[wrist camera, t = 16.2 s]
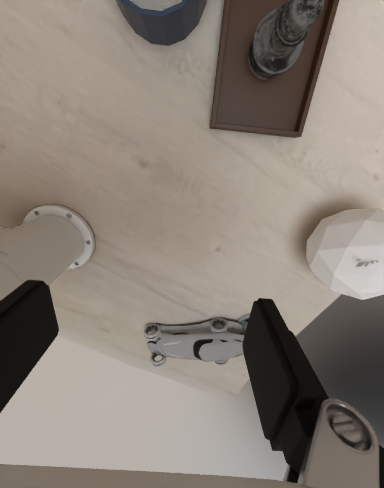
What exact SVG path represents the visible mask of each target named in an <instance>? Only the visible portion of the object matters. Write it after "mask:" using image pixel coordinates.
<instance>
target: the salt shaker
mask: <svg viewBox="0 0 384 488" xmlns="http://www.w3.org/2000/svg"><path fill="white" fill-rule="evenodd" d="M323 6H324V0H289V1H287V2H286V3H285V4H284V5H283V6H282V7H281V8H276V9H274V10H272V11H270V12H269V13H268V14H267V15H266V16H265V17H263V19H262V20H261V22H260V23H259V25H258V27H257V29H256V32H255V34H254V39H253V41H252V44H251V46H250V49H249V54H248V62H249V67H250V69H251V71H252V73H253V74H254V75H255V76H256V77H257V78H259V79H262V80H269V79H272V78H274V77H276V76H277V75H278V74H279V73H281V72H284V71H286V70H287V69H288V68H290V67H291V66H292V65H293V64H294V62H295V61H296V60H297V58H298V56H299V55H300V53H301V50H302V46H303V43H304V39H305V37H306V36H307V34H308V32H309V29H310V27H311V26H312V25H313V24H314V23H315V22H316V20H317V19H318V18H319V16H320V14H321V12H322V9H323Z"/></svg>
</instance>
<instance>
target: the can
mask: <svg viewBox="0 0 384 488" xmlns="http://www.w3.org/2000/svg"><path fill="white" fill-rule="evenodd" d="M116 2H117V4H118V6H119V7H120V9H121V11H122V13H123V15H124V17H125V18H126V19H127V21H128V22H129V24H130V25H131V27H132V28H133V29H134V31H135V32H136V33H137V34H138V35H140V36H141V37H143V38H144V39H146V40H147V41H149V42H150V43H153V44H161V45H171V44H173V43H176V42H178V41H181V40H183V39H185V38H186V37H187V36H188V35H189V33H190V32H191V31H192V30H193V29H194V28H195V27H196V26H197V25H198V23H199V20H200V18H201V15H202V13H203V10H204V8H205V5H206V2H207V0H182V2H181V3H179V4H177V5H175V6H172V7H170V8H168V9H165V10H163V11H155V10H147V9H141V8H139V7H138V6H136V5H135V4H133V3H132V2H131V1H129V0H116Z"/></svg>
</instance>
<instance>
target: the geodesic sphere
mask: <svg viewBox="0 0 384 488" xmlns="http://www.w3.org/2000/svg"><path fill="white" fill-rule="evenodd" d="M306 258H307V261H308V264H309V267H310V269H311V271H312V273H313V275H314V277H315V278H316V279H317V280H318V281H320V282H321V283H322V284H323V285H324V286H326V287H327V288H328V289H329V290H331V291H334V292H338V293H341V294H345V295H348V296H352V297H355V298H358V299H361V300H364V299H368V298H372V297H376V296H380V295H383V294H384V211H383V210H381V209H349V210H345V211H342V212H339V213H337V214H334V215H331V216H329V217H326V218H324V219H322V220H321V221H320V223H319V224H318V225H317V227H316V228H315V230H314V231H313V233H312V234H311V236H310V237H309V238H308V240H307V248H306Z"/></svg>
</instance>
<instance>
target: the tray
mask: <svg viewBox="0 0 384 488" xmlns="http://www.w3.org/2000/svg"><path fill="white" fill-rule="evenodd" d="M287 1H289V0H225V1H224V10H223V18H222V27H221V36H220V44H219V53H218V62H217V71H216V79H215V88H214V97H213V105H212V114H211V123H210V128H212V129H221V130H230V131H239V132H248V133H258V134H267V135H276V136H285V137H294V138H295V137H301V135H302V132H303V128H304V125H305V121H306V117H307V114H308V110H309V107H310V103H311V100H312V96H313V92H314V89H315V85H316V82H317V78H318V74H319V71H320V67H321V64H322V60H323V57H324V53H325V49H326V46H327V42H328V39H329V35H330V31H331V28H332V24H333V21H334V17H335V14H336V10H337V6H338V3H339V0H324V6H323V9H322V12H321V14H320V16H319V18H318V19H317V20H316V22H315V23H314V24H313V25H312V26H311V27H310V29H309V32H308V34H307V36H306V37H305V39H304V43H303V46H302V50H301V53H300V55H299V56H298V58H297V60H296V61H295V62H294V64H293V65H292V66H291V67H290V68H288V69H287V70H286V71H284V72H281V73H279V74H278V75H277V76H276V77H274V78H272V79H269V80H262V79H259V78H257V77H256V76H255V75H254V74H253V73H252V71H251V69H250V67H249V62H248V54H249V49H250V46H251V44H252V41H253V39H254V34H255V32H256V29H257V27H258V25H259V23H260V22H261V20H262V19H263V17H265V16H266V15H267V14H268V13H269V12H270V11H272V10H274V9H276V8H281V7H282V6H283V5H284V4H285V3H286V2H287Z"/></svg>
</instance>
